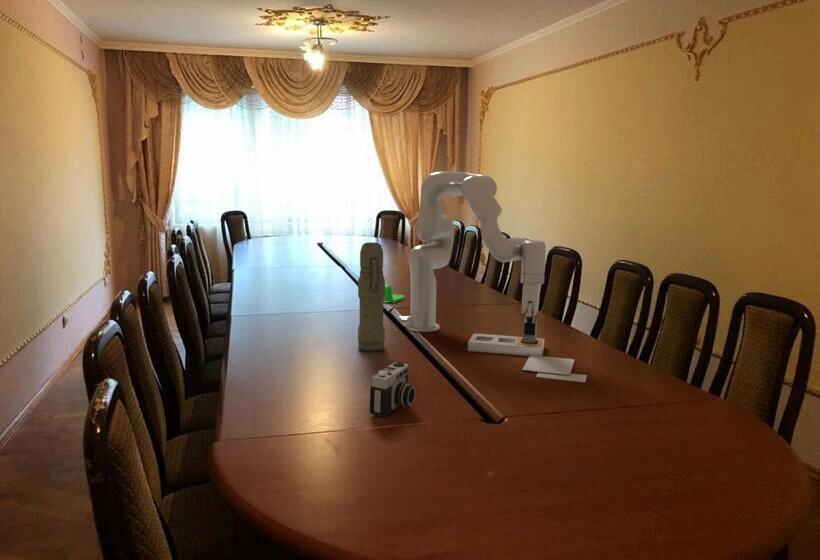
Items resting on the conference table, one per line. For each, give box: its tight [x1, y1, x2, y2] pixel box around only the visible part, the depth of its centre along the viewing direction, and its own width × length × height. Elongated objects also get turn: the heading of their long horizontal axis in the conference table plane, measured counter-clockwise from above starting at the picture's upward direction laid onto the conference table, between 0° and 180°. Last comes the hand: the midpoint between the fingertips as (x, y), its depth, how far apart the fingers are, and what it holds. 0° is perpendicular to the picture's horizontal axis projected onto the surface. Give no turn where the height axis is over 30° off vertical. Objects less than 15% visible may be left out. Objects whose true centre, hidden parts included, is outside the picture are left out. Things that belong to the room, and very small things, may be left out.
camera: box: [369, 361, 416, 417], centre depth 159 cm, size 14×9×10 cm, turn 148°
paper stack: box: [522, 355, 588, 383], centre depth 191 cm, size 23×25×1 cm
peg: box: [522, 320, 538, 344], centre depth 212 cm, size 4×4×10 cm
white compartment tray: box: [467, 333, 545, 357], centre depth 214 cm, size 24×12×3 cm, turn 75°
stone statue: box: [357, 242, 386, 352], centre depth 211 cm, size 9×12×35 cm
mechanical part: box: [383, 284, 405, 302], centre depth 291 cm, size 12×6×8 cm, turn 155°
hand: (529, 332), depth 212 cm, fingers open, 4 cm apart
